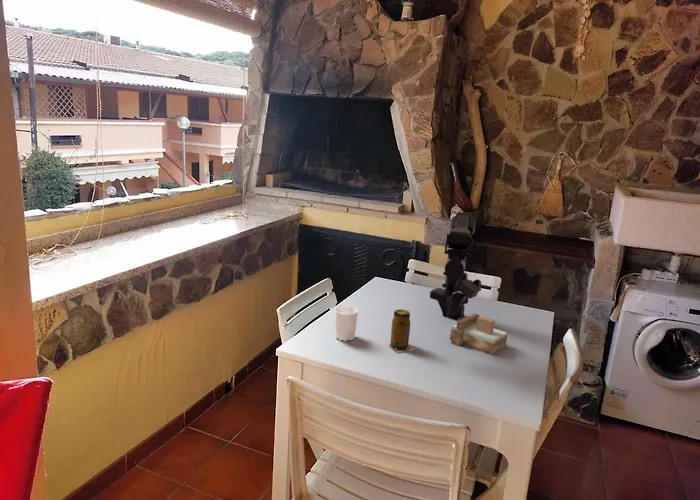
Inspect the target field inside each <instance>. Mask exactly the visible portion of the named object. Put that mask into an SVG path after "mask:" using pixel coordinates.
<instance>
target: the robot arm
mask: <svg viewBox="0 0 700 500" xmlns="http://www.w3.org/2000/svg"><path fill="white" fill-rule="evenodd" d="M450 222H451V223H450V230H449V233H446V238H445V239H446V241H445V247H444V253H443V254H445V255H447V260H446V263H445V265H444V271H443V276H445V280H444V281H445V282H444V283H442V284H441V288H440V287H437V288H434V289H432V290H431V291H429V299H431V300H435V301H437V303H438V305H439V307H440V310H441V312H442V316H443V318H446V319H447V318H449V319H452V320H455V321H457V320H458V321H459V320H461V319H462V318H464V317H465V316H466V315H465V309H466V308H465V305H467V304H469V299H470V300H471V299H472V298H475V297H477V296H478V294H479V292H481V291H482V280H480V279H475V280H472V279H471V280H470V279H468V273H467V272H465V271H466V262H467V257H468V258H469V257H470V254H472V253H473V244H474V240H473V234H475V230H476V219H475V218H473V216H472V214H471V213H469V212H462V211H457V212H456V214H455V216H452V217H451V221H450Z"/></svg>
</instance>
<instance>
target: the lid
mask: <svg viewBox="0 0 700 500" xmlns="http://www.w3.org/2000/svg"><path fill="white" fill-rule="evenodd" d="M495 322H496V320H495V319H493V318H489V317H488V316H487V317H486V316H485V315H484V316H483V315H479V317H478V318H477V322H475V323H473V324H471V325H469V326H467V327H465V328H463V329H461V330H464V331H463V333H465V334H468V335H471V336H473V337H476V338H479V339H482V340H484V341H487V342H490V343H495V342H496V341H498V340H500V339H502V338H503V337H505V336H507V337H508V332H506V331H504V330H500V329H497V328H495ZM451 328H452V329H454V328H457V323H455V324H453V325H451Z"/></svg>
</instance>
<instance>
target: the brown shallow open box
mask: <svg viewBox="0 0 700 500" xmlns="http://www.w3.org/2000/svg"><path fill="white" fill-rule="evenodd" d="M463 331H464V330H461V329H458V328H454V329H452V327H451V329H450V334H449V340H450V344H452V345H455V346H457V347H459V346H461V345H465V346H467V347H469V348H472V349H474V350H477V351H479V352H483V353H485V354H488V355H491V356H493V355H494V354H495V353H497V352H499V351H500V350H502V349H504V348H505V347H507V339H508V335H507V336H505V337H503V338H502V339H500V340H498V341H496V342H495V343H490V342H487V341H484V340H482V339H479V338H476V337H473V336H471V335H468V334H465V333H463Z"/></svg>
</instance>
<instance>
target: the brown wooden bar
mask: <svg viewBox="0 0 700 500" xmlns="http://www.w3.org/2000/svg"><path fill="white" fill-rule="evenodd" d="M478 317H480V314H478V313H473V314H471V315H469V316H467V317H465V318H464V317H463V319H462V318H461V319H459V320H458V321H457V322H456V324H457V328H458V329H463V328H465V327H467V326H469V325H471V324H473V323H475V322H477V318H478Z"/></svg>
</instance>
